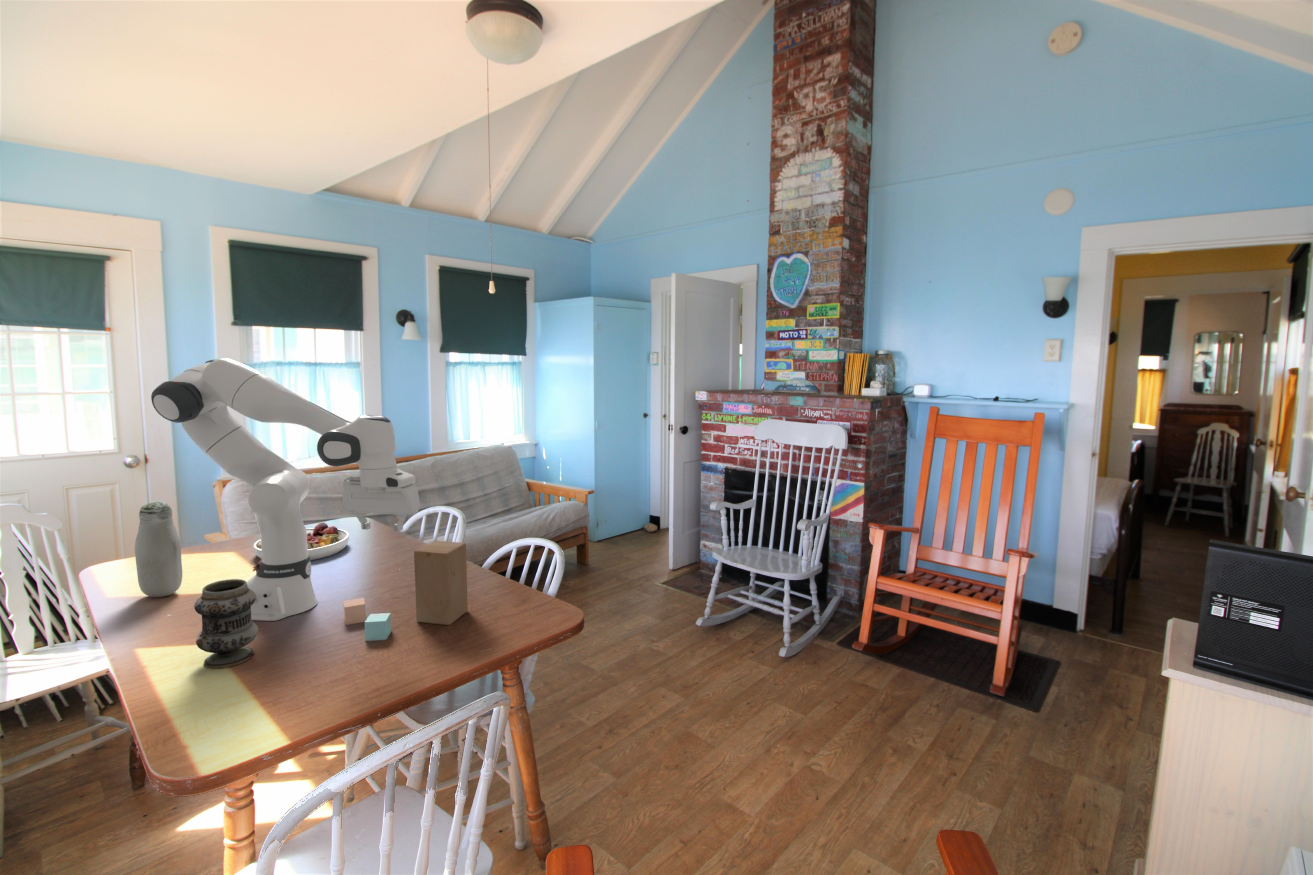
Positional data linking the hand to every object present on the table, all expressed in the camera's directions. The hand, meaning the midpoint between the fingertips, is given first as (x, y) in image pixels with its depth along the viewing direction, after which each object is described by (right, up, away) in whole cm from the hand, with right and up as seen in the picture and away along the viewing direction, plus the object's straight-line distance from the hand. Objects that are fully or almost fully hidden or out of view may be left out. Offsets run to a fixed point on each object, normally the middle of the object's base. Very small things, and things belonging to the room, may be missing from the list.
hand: (382, 529), depth 160 cm
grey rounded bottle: (-75, -23, +22) cm, 81 cm away
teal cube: (0, -27, -3) cm, 27 cm away
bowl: (-57, -18, +64) cm, 87 cm away
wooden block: (+12, -26, +9) cm, 30 cm away
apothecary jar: (-29, -28, -15) cm, 43 cm away
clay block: (-10, -26, +7) cm, 28 cm away
